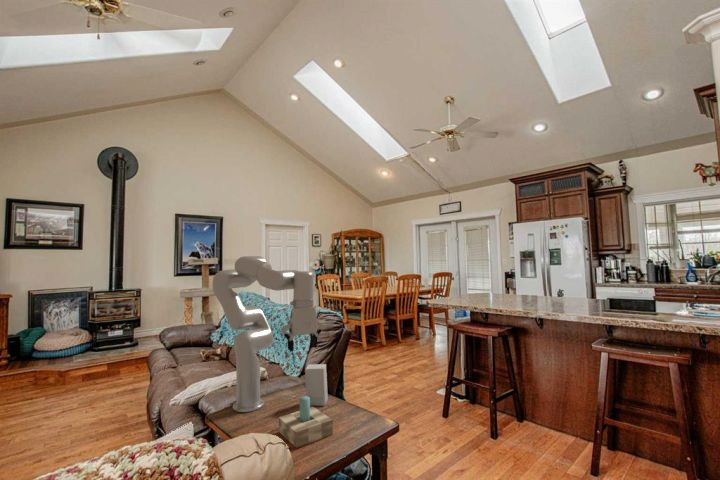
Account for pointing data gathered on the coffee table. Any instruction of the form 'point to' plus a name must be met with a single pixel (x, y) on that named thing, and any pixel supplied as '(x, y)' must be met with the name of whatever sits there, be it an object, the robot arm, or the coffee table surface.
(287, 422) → the socket block
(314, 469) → the coffee table surface
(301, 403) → the peg
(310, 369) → the skincare box
